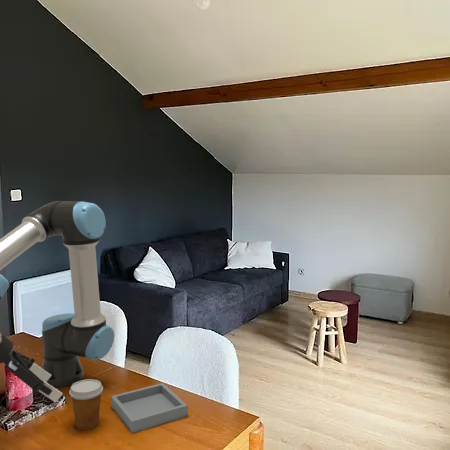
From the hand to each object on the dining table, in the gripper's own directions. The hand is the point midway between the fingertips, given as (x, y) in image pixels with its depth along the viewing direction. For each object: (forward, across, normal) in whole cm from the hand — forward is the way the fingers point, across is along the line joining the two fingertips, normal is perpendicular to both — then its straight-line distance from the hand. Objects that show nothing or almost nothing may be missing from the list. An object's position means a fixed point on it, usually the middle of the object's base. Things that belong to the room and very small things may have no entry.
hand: (53, 388), depth 133 cm
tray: (+29, +2, +10) cm, 31 cm away
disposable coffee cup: (+16, 0, -3) cm, 17 cm away
